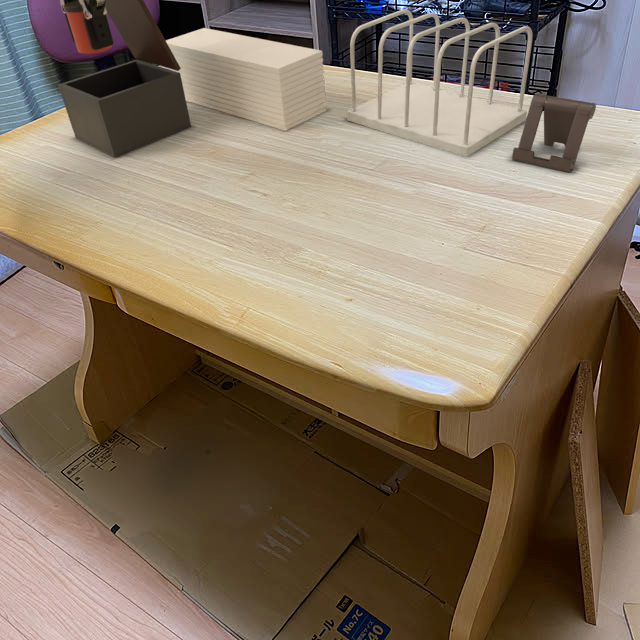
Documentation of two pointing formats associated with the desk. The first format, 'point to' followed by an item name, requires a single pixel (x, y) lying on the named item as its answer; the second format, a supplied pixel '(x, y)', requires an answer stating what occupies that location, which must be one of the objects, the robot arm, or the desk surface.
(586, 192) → the desk surface
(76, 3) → the container
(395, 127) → the file sorter
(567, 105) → the tablet stand
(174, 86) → the brown hinged lid box
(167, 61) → the brown box lid
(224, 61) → the stack of papers
